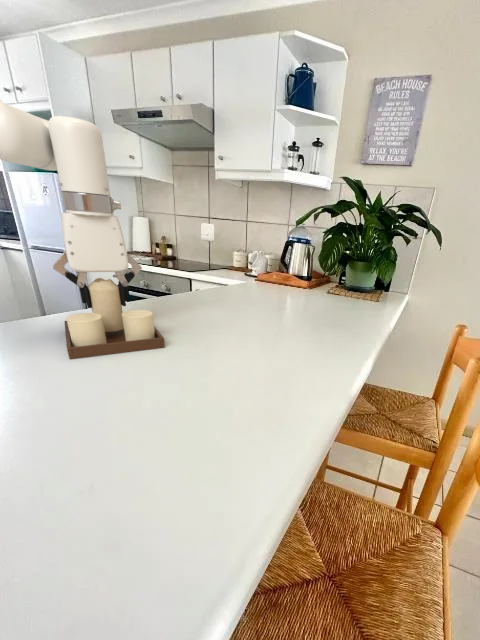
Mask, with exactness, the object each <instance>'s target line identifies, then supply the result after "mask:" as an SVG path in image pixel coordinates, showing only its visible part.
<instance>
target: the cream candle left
mask: <svg viewBox="0 0 480 640" xmlns="http://www.w3.org/2000/svg"><path fill="white" fill-rule="evenodd" d="M65 320H66V321H67V324H68V328H69V332H70V336H71V340H72V344H73V347H78V346H87V345H96V344H105V343H107V341H106V336H105V331H104V325H103V320H102V316H101V315H99V314H95V313H92V312H80V313H75V314H71V315H68V316H67V317H66V319H65Z"/></svg>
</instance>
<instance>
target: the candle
mask: <svg viewBox="0 0 480 640" xmlns="http://www.w3.org/2000/svg"><path fill="white" fill-rule="evenodd" d="M117 285H118V284H116V283H115V281H113V280H112V279H111V278H109V279H104V278H102V277H97V278H95V279H94V280H93V281H92V282H91V283H89V284H88V285H87V287H88V290H89V295H90V301H91V306H92V307H91V308H90V309H91V313H95V314H99V315H101V316H102V320H103V325H104V331H105V332H113V331H119V330H122V329H124V326H123V320H122V313H123V312H124V311H123V306H122V305H121V298H120V291H119V286H117Z"/></svg>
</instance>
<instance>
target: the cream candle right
mask: <svg viewBox="0 0 480 640" xmlns="http://www.w3.org/2000/svg"><path fill="white" fill-rule="evenodd" d="M122 320H123V326H124V333H125V339H126V341H133V340H142V339H152V338H155V330H154V326H155V323H154V322H155V321H154V313H153V312H152V311H150V310H146V309H130V310H126V311H123V313H122Z"/></svg>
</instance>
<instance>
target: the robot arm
mask: <svg viewBox="0 0 480 640" xmlns="http://www.w3.org/2000/svg"><path fill="white" fill-rule="evenodd" d="M102 136H103V135H102V132H101V131H100V129H99V128H98V126H97V125H96V124H94V123H92V122H90V121H88V120H85V119H82V118H78V117H73V116H67V115H66V116H65V115H55V116H51V117H50V118H49V120H48V119H45V118H42V117H40V116H36V115H35V114H32V113H30V112H27V111H25V110H23V109H19V108H18V107H14V106H12V105H9V104H7V103H5V102H4V101H2V100H1V99H0V160H2V161H4V162H7V163H10V164H14V165H15V164H16V165H21V166H26V167H31V168H35V169H39V170H44V171H52V172H53V171H57V175H58V180H59V185H60V190H61V194H62V200H63V203H64V204H63V205H64V209H65V211H61V212H60V223H61V232H62V239H63V245H64V251H63V252H62V254H61V255H60V256H59V258H58V259H57V260H56V262H54V263H53V265H52V269H53V270H54V271H55V272H57V273H59V274H60V275H62V276H63V277H65V278H66V279H68V280H69V281H70V282H72V283H73V284H74V285H76V286H77V287H78V289H79V293H80V298H81V303H82V304H86V307H87V309H92V308H91V307H92V306H91V301H90V295H89V290H88V285H87V284H86V280H87V273H114V274H115V276H116V278H117V279H118V282H117V283H118V284H116V285H117V286H119V291H120V298H121V305H122V307H127V303H126V302H129V293H128V288H127V287H128V285H129V284H130V282H132V280H133V279H134V278H135V276H136V275H138V274H139V272H141V271H142V270H143V267H142V265H140V264H139V263H138V261H136V260H135V259H134V258H133V257H132V256H131V255H130V254H129V253H128V252H127V248H126V243H125V238H124V234H123V229H122V226H121V223H120V220H119V217H118V216H117V215H114V213H115V211H117V210H122V205H121V201H119V200H115V199H114V198H112V196H111V190H110V188H111V187H110V183H109V181H110V180H109V175H108V169H107V162H106V155H105V148H104V142H103V137H102ZM67 263H68V265H69V268H70V269H71V270H73V271H75V272H77V274H74V273H73V272H72V271H70V270H69V269H67V268H66V267H65V266H66V265H67ZM129 265H130V266H131V268H130V269H129ZM128 269H129V270H128ZM127 270H128V271H127ZM124 272H126V273H125V274H124Z"/></svg>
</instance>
